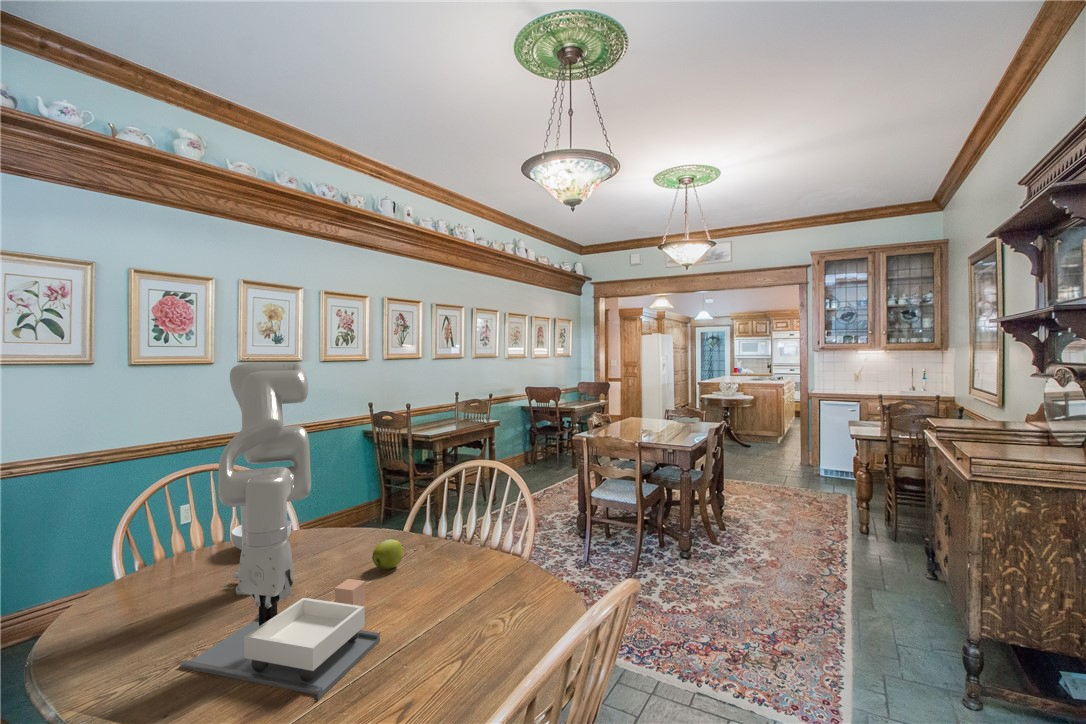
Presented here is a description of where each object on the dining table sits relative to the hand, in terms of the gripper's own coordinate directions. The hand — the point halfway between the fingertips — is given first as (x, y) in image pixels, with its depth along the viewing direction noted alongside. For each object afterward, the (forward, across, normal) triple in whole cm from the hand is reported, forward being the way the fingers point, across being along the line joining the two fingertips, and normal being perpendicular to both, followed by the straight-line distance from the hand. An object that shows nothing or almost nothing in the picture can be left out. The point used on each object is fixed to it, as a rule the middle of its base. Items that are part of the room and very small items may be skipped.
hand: (268, 623), depth 103 cm
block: (+6, +5, +20) cm, 22 cm away
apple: (+7, +1, +43) cm, 43 cm away
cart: (+5, +10, 0) cm, 11 cm away
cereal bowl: (+7, -47, +46) cm, 66 cm away
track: (+6, +4, 0) cm, 7 cm away
